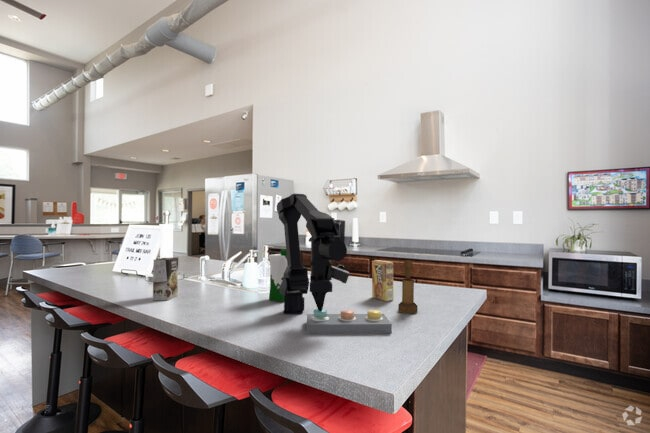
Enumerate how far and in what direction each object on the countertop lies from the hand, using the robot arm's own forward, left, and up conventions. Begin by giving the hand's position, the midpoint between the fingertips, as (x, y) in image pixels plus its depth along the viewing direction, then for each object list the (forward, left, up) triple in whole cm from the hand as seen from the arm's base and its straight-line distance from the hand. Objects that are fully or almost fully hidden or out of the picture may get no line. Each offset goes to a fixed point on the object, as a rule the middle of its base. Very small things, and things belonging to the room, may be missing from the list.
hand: (320, 310), depth 103 cm
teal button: (0, 0, -2) cm, 2 cm away
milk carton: (-15, +37, -5) cm, 40 cm away
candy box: (+26, +38, -5) cm, 46 cm away
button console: (+8, 0, -5) cm, 9 cm away
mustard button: (+16, 0, -2) cm, 16 cm away
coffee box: (-62, +40, -5) cm, 74 cm away
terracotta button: (+8, 0, -2) cm, 8 cm away
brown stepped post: (+31, +18, -5) cm, 36 cm away
